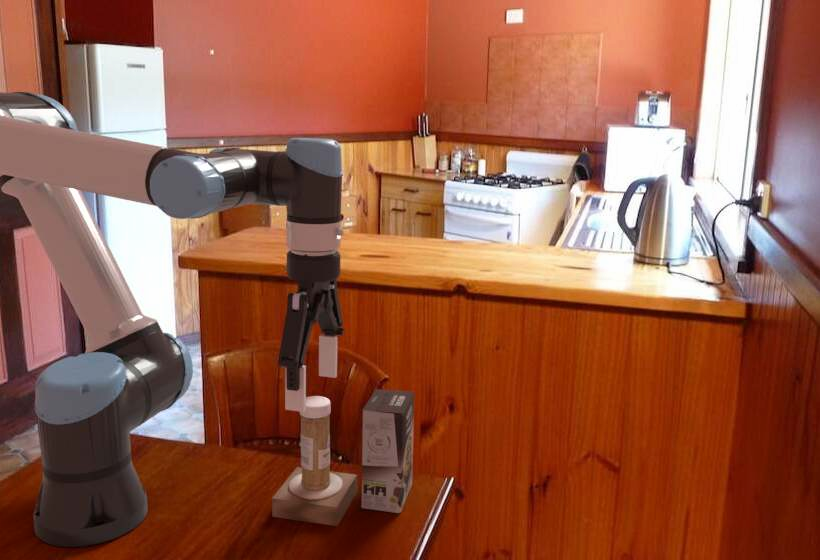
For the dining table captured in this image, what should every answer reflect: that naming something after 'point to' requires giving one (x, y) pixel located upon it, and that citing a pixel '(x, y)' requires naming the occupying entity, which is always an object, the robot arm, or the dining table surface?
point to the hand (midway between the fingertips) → (312, 392)
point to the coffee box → (387, 450)
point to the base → (315, 499)
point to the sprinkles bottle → (315, 443)
